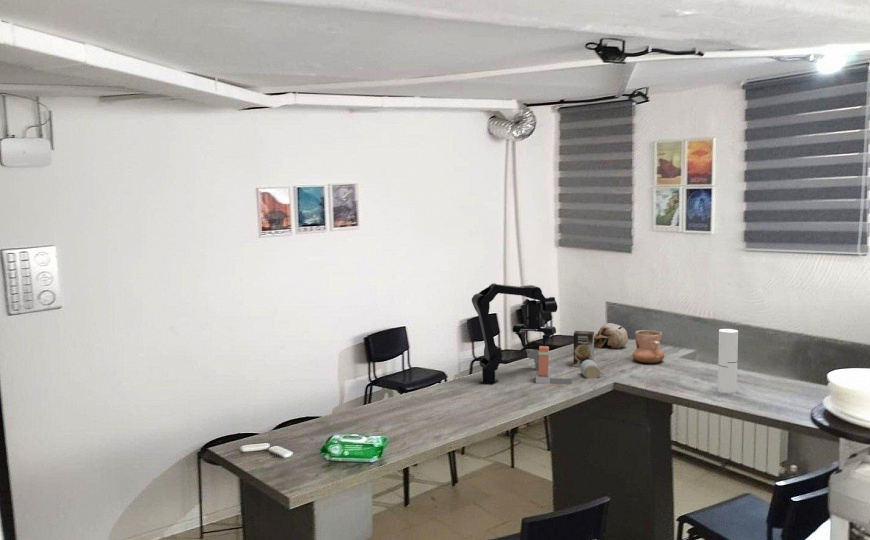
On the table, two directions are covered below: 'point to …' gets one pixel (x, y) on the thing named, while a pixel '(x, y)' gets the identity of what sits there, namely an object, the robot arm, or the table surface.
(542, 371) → the salmon pink rectangular block
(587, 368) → the ceramic mug
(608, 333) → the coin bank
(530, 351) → the mechanical component
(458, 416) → the table surface
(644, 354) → the ceramic jug
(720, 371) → the cylindrical container
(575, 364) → the coffee box
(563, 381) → the stand base
